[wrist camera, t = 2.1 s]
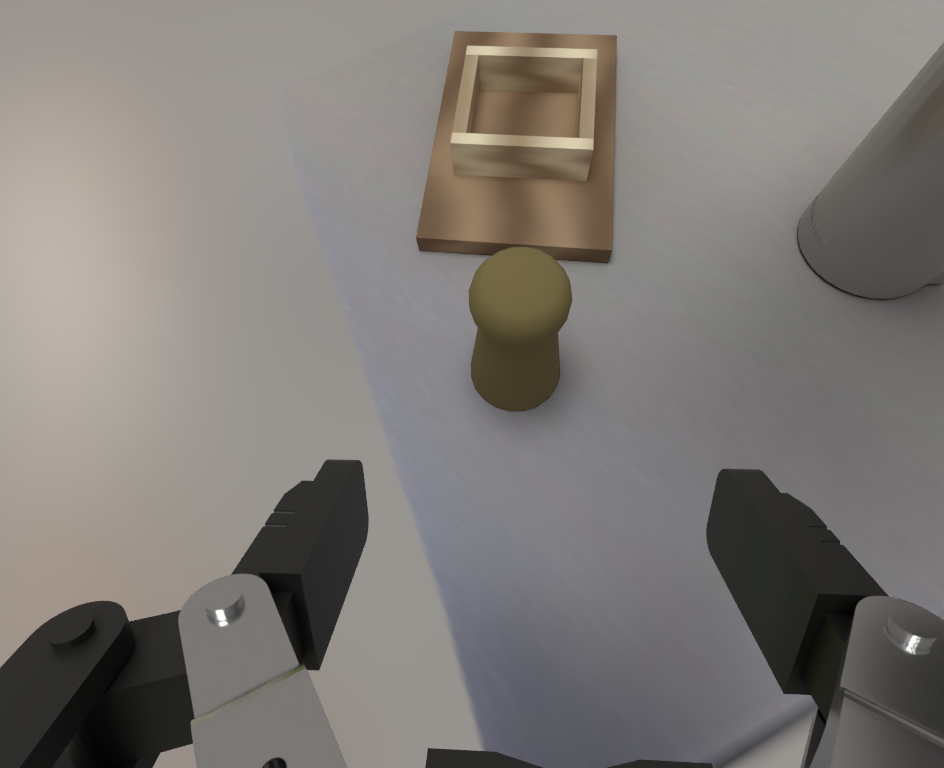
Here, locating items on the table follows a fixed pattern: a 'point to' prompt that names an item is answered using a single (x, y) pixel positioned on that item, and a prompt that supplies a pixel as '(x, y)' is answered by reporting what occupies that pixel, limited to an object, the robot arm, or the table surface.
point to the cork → (518, 327)
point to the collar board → (524, 147)
